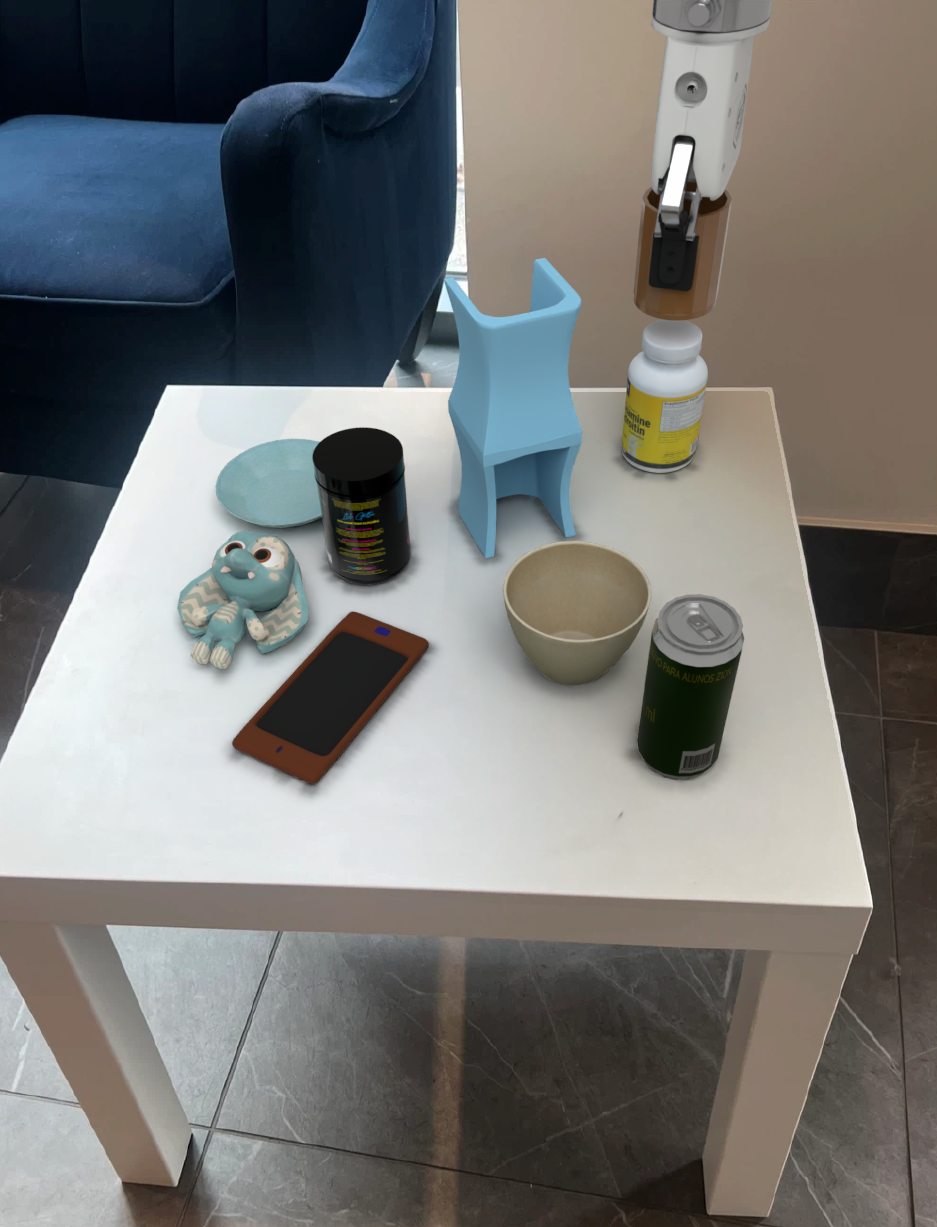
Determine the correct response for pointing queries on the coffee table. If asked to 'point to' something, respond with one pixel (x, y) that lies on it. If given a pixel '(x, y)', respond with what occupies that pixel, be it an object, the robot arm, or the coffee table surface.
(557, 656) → the flower pot
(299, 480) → the saucer
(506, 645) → the coffee table surface
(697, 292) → the wooden cup
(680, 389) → the pill bottle
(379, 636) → the smartphone
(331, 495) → the supplement container
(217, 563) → the stuffed animal
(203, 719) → the coffee table surface
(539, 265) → the blue doll chair
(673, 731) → the beer can
